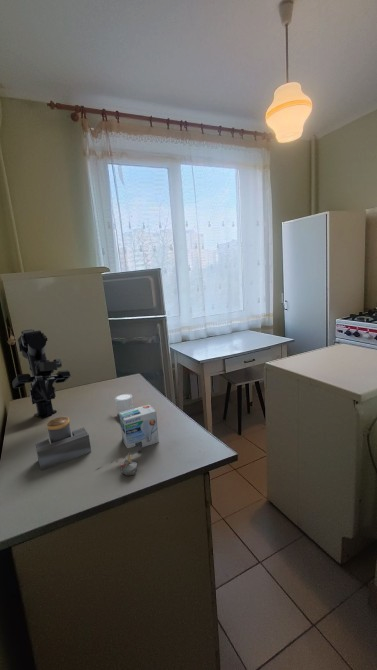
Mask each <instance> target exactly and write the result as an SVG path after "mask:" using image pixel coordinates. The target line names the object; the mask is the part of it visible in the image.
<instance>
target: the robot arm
mask: <svg viewBox="0 0 377 670" xmlns="http://www.w3.org/2000/svg"><path fill="white" fill-rule="evenodd" d="M47 341H48V337H47V335H45V333H44V332H42V331H41V330H39V329H38V330H34V329H25V330H22V331H20V337H18V338H17V345H18V351H19V352H20V353H21V355H22V357H23V358H25V359H27V362H28V367H29V371H30V373H31V374H29V373H21V374H20V373H19V374H17V375H16V377H15V378H14V379H13V380H12V383H11V384H12V388H13V389H20V388H23V387H24V386H25V384H28V383H30V389H29V397H30V402H31V403H32V405H35V407H36V413H34V414H33V416H34V417H38V418H41V419H45V418H47V417H49V416H51V415H53V414H55V413H57V410H56V409H54V407H53V402H52V400H54V399H55V398H56V387H55V386H54V383H56V384H62V383H66V382H67V381H68V380H69V378H71V377H72V375H71V372H70V370H66V369H65V370H59V371H58V369H59V368H62V366H63V365H62V364H63V363H62V360H61V358H56V359H53V361H50V359H48V358H47V354H46V351H47ZM55 371H57V373H55V374H53V373H54V372H55Z"/></svg>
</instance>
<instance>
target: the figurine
mask: <svg viewBox="0 0 377 670" xmlns="http://www.w3.org/2000/svg"><path fill="white" fill-rule="evenodd" d="M131 454H132V452H131V451H129V450H128V454H127V455H126V456H125V459H124V460H122V461H121V464H120V471H121V473H122V474H123V475H125V476H134V475H136V471H137V466H138V463H137V462H135V461H132V457H131Z"/></svg>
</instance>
